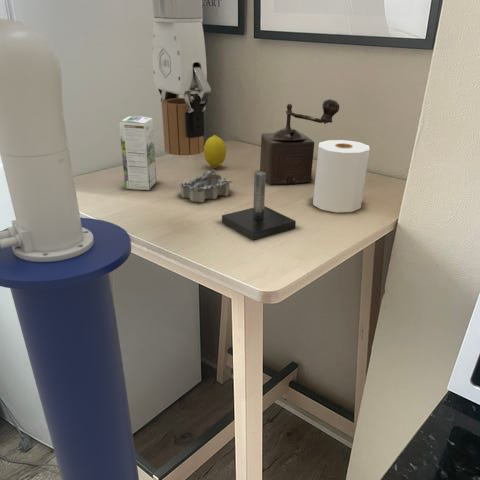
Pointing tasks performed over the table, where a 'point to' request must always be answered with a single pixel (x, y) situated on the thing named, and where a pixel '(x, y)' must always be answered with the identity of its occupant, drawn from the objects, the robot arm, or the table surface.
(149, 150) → the syrup box
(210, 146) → the lemon
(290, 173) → the manual coffee grinder
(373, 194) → the table surface
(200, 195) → the metal cookie cutter
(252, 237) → the stand
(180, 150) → the wooden bucket
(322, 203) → the toilet paper
